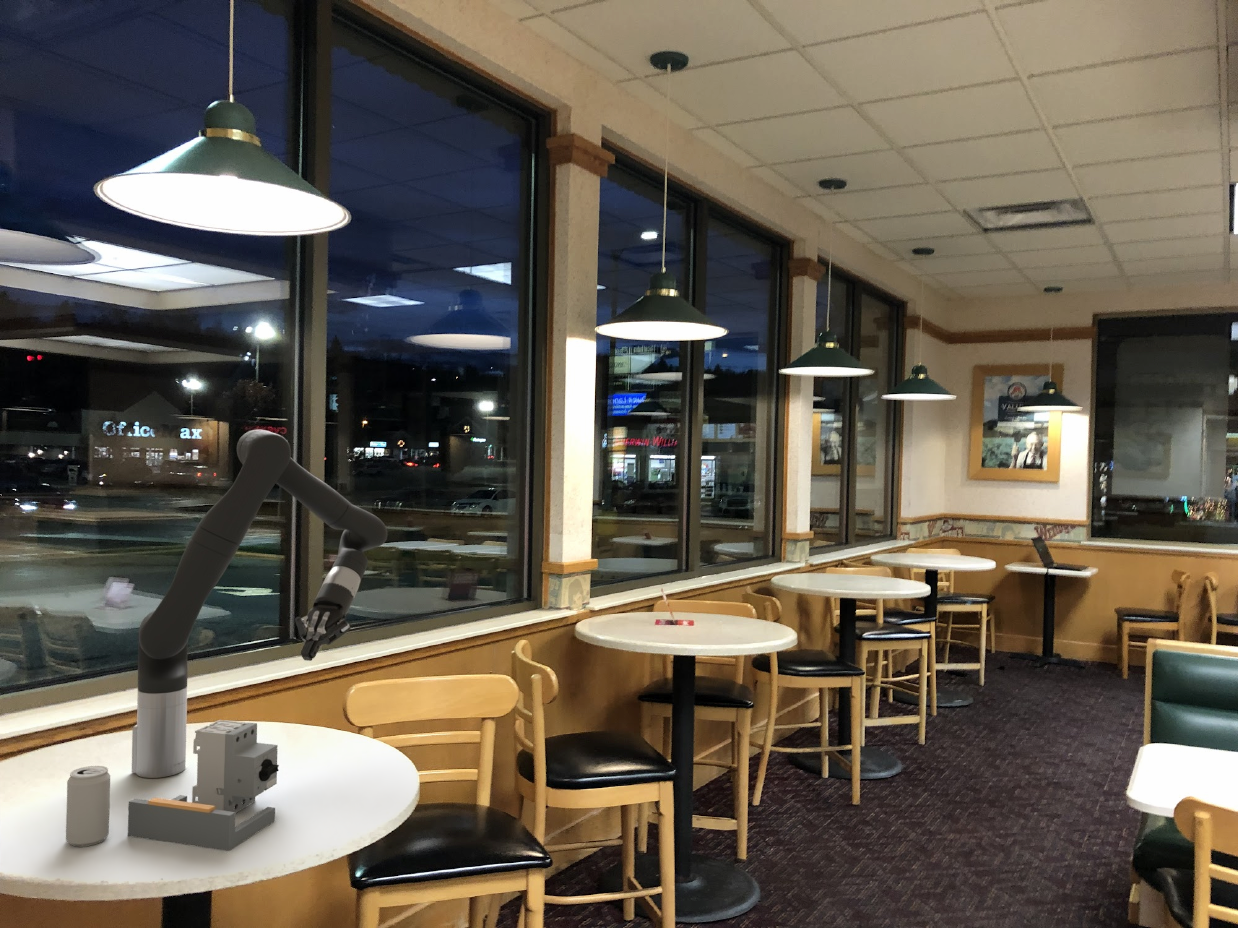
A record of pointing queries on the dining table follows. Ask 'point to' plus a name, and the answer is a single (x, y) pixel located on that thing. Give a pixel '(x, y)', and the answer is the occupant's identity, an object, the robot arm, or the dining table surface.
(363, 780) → the dining table surface
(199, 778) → the circuit breaker
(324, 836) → the dining table surface
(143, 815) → the breaker bay
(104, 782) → the beverage can
